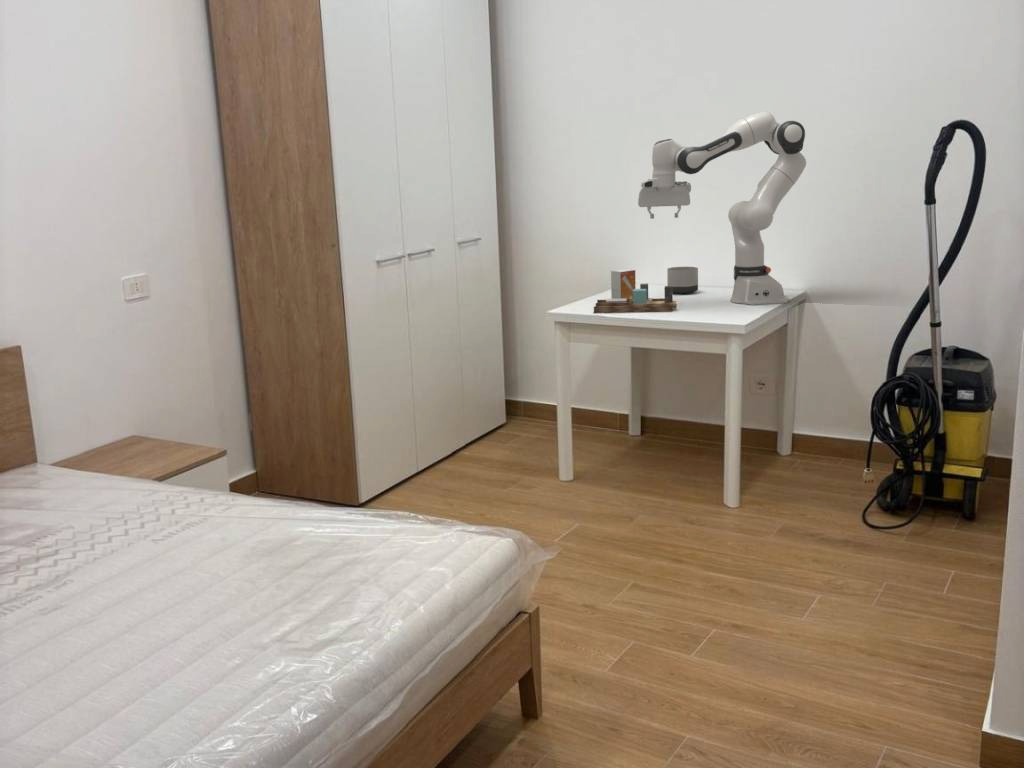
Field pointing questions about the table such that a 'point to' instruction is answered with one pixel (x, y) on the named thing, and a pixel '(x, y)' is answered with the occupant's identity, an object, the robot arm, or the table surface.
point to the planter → (683, 279)
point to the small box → (622, 283)
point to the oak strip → (667, 301)
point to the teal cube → (639, 296)
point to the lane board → (629, 307)
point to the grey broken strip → (642, 286)
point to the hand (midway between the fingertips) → (664, 218)
